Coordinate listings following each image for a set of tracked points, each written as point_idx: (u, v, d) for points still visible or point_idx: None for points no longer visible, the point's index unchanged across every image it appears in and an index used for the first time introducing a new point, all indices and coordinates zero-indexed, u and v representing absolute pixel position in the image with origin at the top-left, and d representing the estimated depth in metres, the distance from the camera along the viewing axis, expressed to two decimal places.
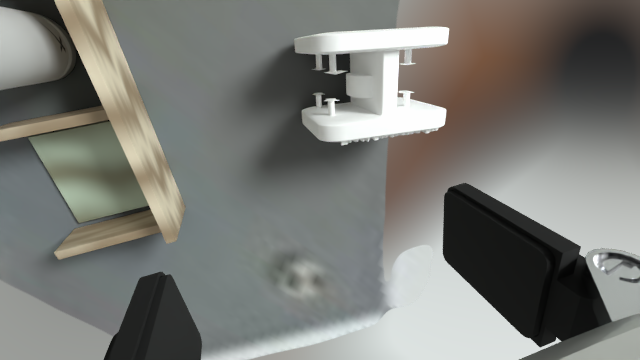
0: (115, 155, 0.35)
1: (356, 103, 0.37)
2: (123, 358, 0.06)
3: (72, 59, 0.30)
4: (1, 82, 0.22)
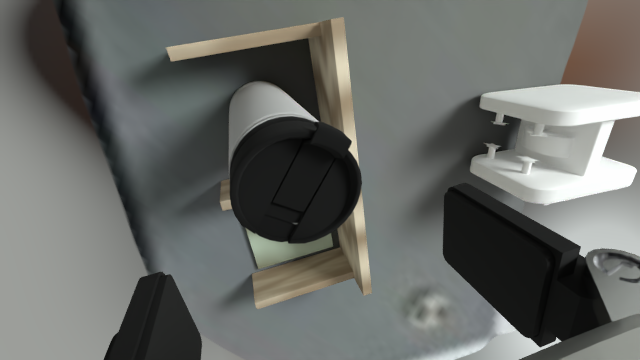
0: None
1: (530, 155, 0.38)
2: (123, 358, 0.06)
3: None
4: None
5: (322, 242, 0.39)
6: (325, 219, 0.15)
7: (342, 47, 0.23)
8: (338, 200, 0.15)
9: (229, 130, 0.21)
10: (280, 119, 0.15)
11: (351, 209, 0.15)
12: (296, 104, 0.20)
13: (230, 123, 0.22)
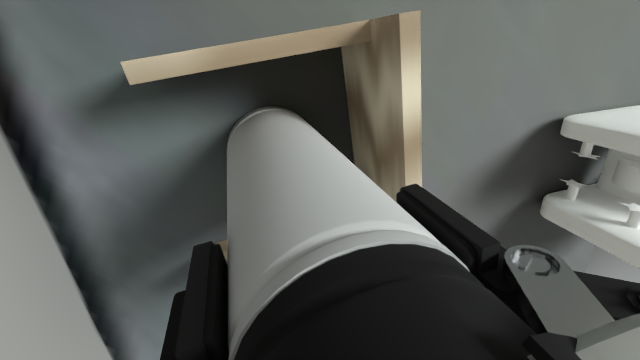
0: None
1: (624, 196, 0.29)
2: (197, 304, 0.07)
3: None
4: None
5: None
6: None
7: (414, 60, 0.14)
8: None
9: (228, 208, 0.12)
10: (368, 266, 0.05)
11: None
12: (353, 169, 0.11)
13: (229, 192, 0.13)
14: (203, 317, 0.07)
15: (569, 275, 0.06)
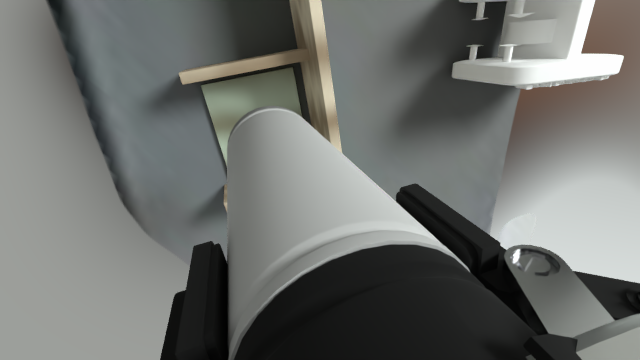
0: None
1: (513, 55, 0.36)
2: (197, 304, 0.07)
3: None
4: None
5: None
6: None
7: None
8: None
9: (228, 208, 0.12)
10: (368, 266, 0.05)
11: None
12: (354, 169, 0.11)
13: (229, 192, 0.13)
14: (203, 317, 0.07)
15: (569, 275, 0.06)
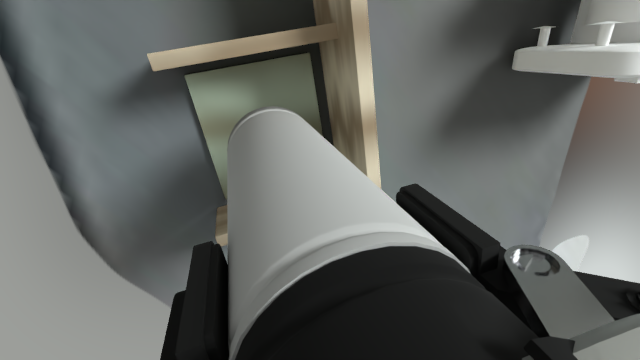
0: (285, 106, 0.26)
1: (597, 40, 0.28)
2: (197, 304, 0.07)
3: None
4: None
5: None
6: None
7: None
8: None
9: (228, 209, 0.12)
10: (368, 268, 0.05)
11: None
12: (354, 170, 0.11)
13: (230, 193, 0.13)
14: (203, 317, 0.07)
15: (569, 275, 0.06)
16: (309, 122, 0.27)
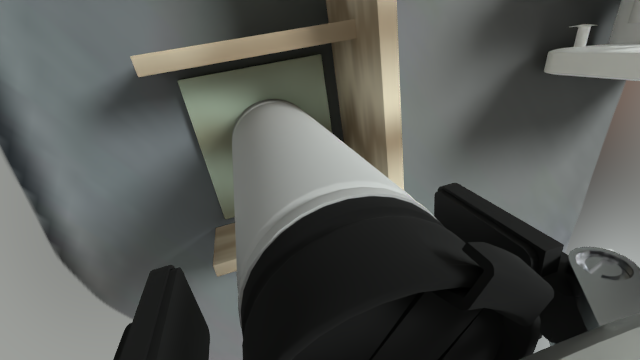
0: None
1: None
2: (138, 345, 0.06)
3: None
4: None
5: None
6: None
7: None
8: None
9: (235, 185, 0.13)
10: (352, 209, 0.07)
11: None
12: (347, 148, 0.12)
13: (236, 172, 0.14)
14: None
15: None
16: None
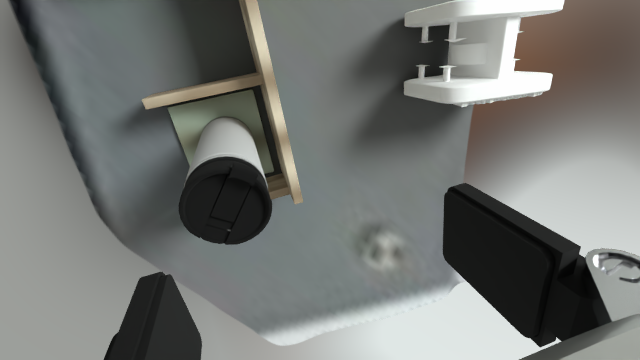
0: None
1: (457, 73, 0.39)
2: (123, 358, 0.06)
3: None
4: None
5: (262, 166, 0.41)
6: (250, 227, 0.22)
7: None
8: (258, 213, 0.22)
9: None
10: (216, 159, 0.22)
11: (267, 219, 0.22)
12: (240, 142, 0.27)
13: None
14: None
15: None
16: (256, 136, 0.39)
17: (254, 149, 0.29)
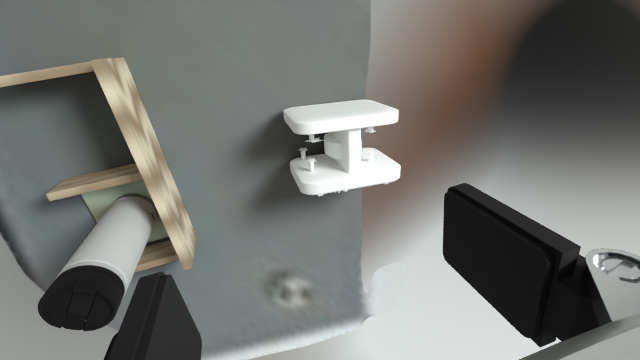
0: None
1: None
2: (123, 358, 0.06)
3: (156, 218, 0.46)
4: None
5: None
6: (102, 318, 0.30)
7: (105, 79, 0.32)
8: (107, 309, 0.29)
9: None
10: (73, 269, 0.29)
11: (113, 313, 0.29)
12: (114, 239, 0.34)
13: None
14: None
15: None
16: None
17: (132, 239, 0.36)
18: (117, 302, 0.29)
